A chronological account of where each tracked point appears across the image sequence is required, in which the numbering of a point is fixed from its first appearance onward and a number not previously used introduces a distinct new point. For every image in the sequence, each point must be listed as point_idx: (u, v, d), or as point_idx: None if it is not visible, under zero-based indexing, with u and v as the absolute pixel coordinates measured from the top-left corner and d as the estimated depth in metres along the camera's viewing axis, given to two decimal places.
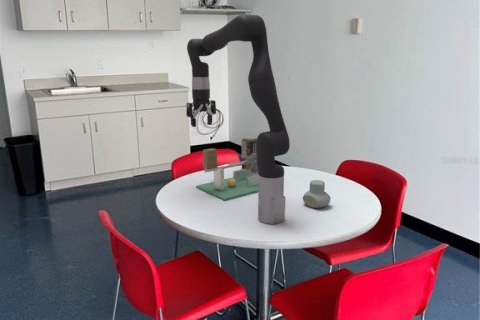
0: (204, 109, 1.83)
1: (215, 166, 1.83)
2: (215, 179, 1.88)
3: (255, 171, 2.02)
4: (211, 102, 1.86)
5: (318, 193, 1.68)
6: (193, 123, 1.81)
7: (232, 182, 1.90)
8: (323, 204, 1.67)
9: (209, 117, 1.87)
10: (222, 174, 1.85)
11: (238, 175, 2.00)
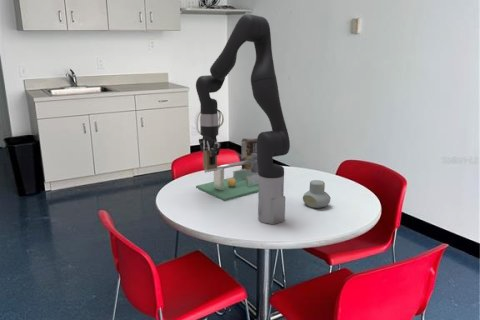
0: None
1: (215, 166, 1.83)
2: (215, 179, 1.88)
3: (255, 171, 2.02)
4: None
5: (318, 193, 1.68)
6: (214, 161, 1.81)
7: (232, 182, 1.90)
8: (323, 204, 1.67)
9: None
10: (222, 174, 1.85)
11: (238, 175, 2.00)
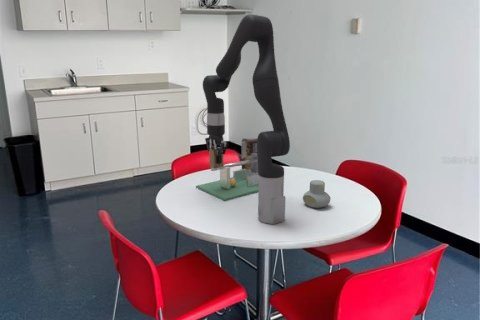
0: None
1: (221, 165, 1.85)
2: (221, 178, 1.90)
3: (255, 171, 2.02)
4: None
5: (318, 193, 1.68)
6: None
7: (232, 182, 1.90)
8: (323, 204, 1.67)
9: None
10: (228, 173, 1.87)
11: (238, 175, 2.00)
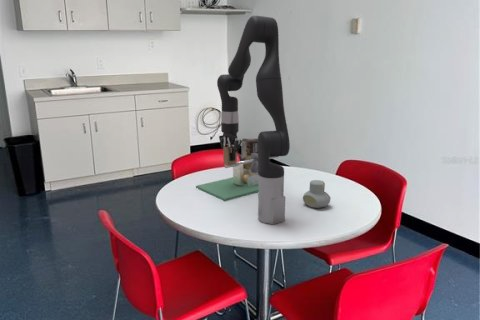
0: None
1: (235, 162, 1.89)
2: (234, 175, 1.94)
3: (255, 171, 2.02)
4: None
5: (318, 193, 1.68)
6: None
7: None
8: (323, 204, 1.67)
9: None
10: (241, 170, 1.91)
11: None
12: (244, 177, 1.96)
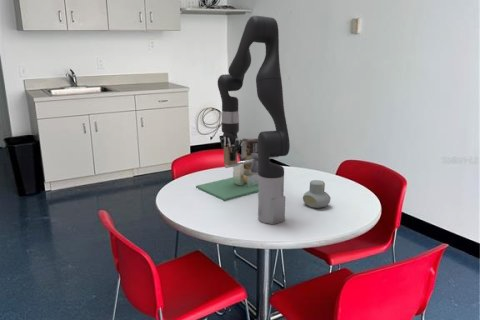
0: None
1: (235, 162, 1.89)
2: (235, 175, 1.94)
3: (255, 171, 2.02)
4: None
5: (318, 193, 1.68)
6: None
7: None
8: (323, 204, 1.67)
9: None
10: (242, 170, 1.91)
11: None
12: None
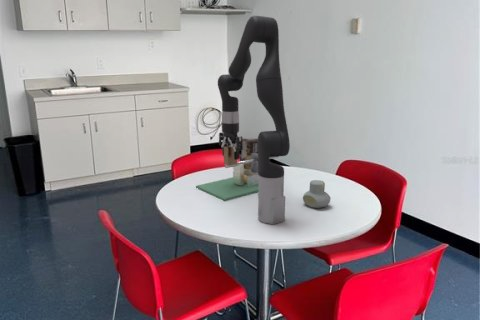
0: None
1: (235, 162, 1.89)
2: (235, 175, 1.94)
3: (255, 171, 2.02)
4: None
5: (318, 193, 1.68)
6: (238, 156, 1.85)
7: None
8: (323, 204, 1.67)
9: None
10: (242, 170, 1.91)
11: None
12: None
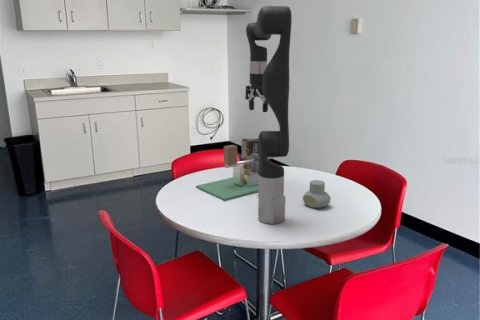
0: None
1: (235, 162, 1.89)
2: (235, 175, 1.94)
3: (255, 171, 2.02)
4: None
5: (318, 193, 1.68)
6: None
7: None
8: (323, 204, 1.67)
9: (253, 102, 1.86)
10: (242, 170, 1.91)
11: None
12: None
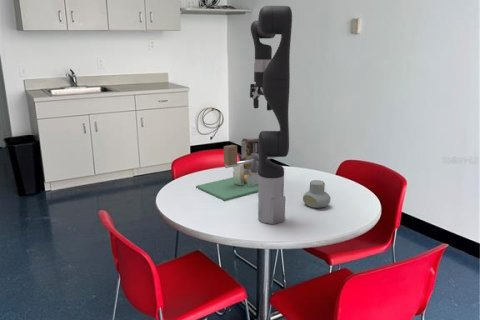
0: None
1: (235, 162, 1.89)
2: (235, 175, 1.94)
3: (255, 171, 2.02)
4: None
5: (318, 193, 1.68)
6: None
7: None
8: (323, 204, 1.67)
9: (257, 100, 1.85)
10: (242, 170, 1.91)
11: None
12: (244, 177, 1.96)
